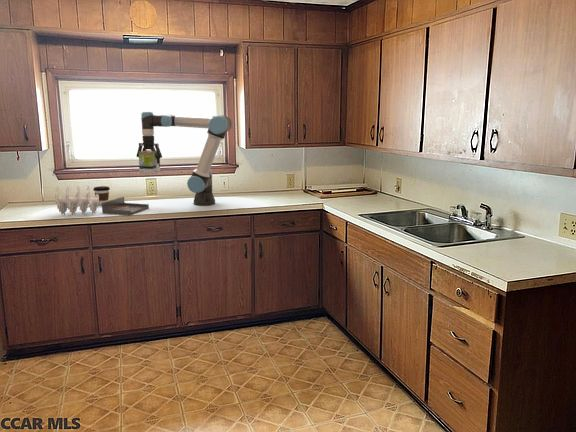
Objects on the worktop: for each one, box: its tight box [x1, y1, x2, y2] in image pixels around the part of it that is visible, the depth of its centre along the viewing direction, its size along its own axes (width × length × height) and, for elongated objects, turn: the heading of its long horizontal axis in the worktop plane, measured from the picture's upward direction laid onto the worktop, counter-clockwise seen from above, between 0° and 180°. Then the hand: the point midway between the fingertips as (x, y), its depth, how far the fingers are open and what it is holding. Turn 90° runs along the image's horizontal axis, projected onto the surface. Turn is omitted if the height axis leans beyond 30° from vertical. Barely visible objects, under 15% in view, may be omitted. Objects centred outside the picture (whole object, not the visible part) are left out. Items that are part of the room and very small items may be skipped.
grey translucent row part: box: [55, 185, 99, 216], centre depth 301 cm, size 18×18×25 cm
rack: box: [101, 196, 150, 216], centre depth 311 cm, size 20×22×7 cm
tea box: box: [138, 149, 161, 175], centre depth 321 cm, size 15×10×15 cm, turn 178°
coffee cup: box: [92, 185, 110, 206], centre depth 332 cm, size 11×11×12 cm
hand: (149, 168), depth 322 cm, fingers closed on tea box, 11 cm apart
